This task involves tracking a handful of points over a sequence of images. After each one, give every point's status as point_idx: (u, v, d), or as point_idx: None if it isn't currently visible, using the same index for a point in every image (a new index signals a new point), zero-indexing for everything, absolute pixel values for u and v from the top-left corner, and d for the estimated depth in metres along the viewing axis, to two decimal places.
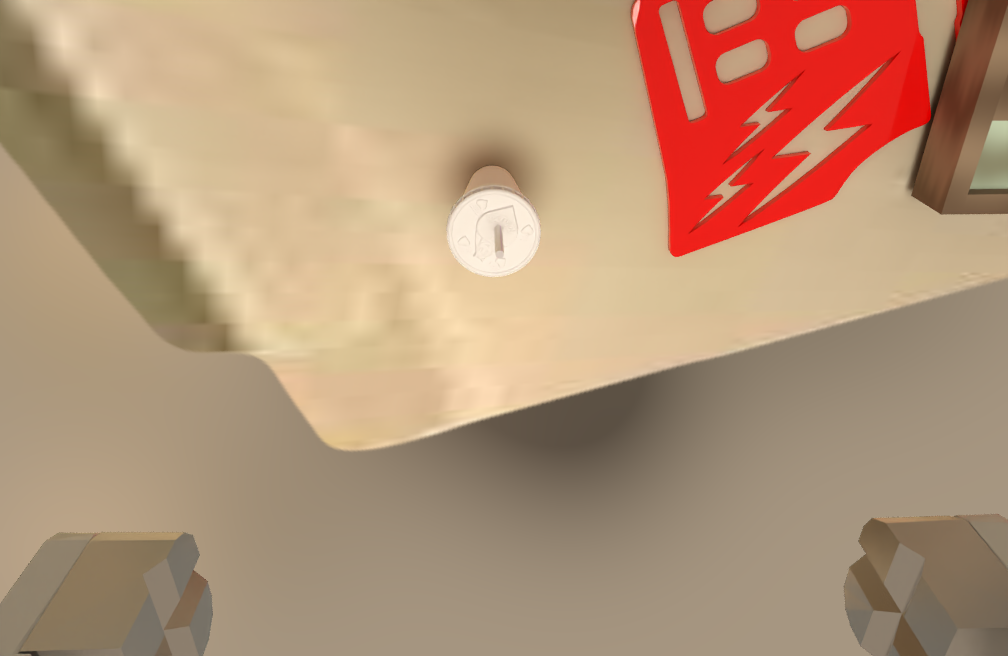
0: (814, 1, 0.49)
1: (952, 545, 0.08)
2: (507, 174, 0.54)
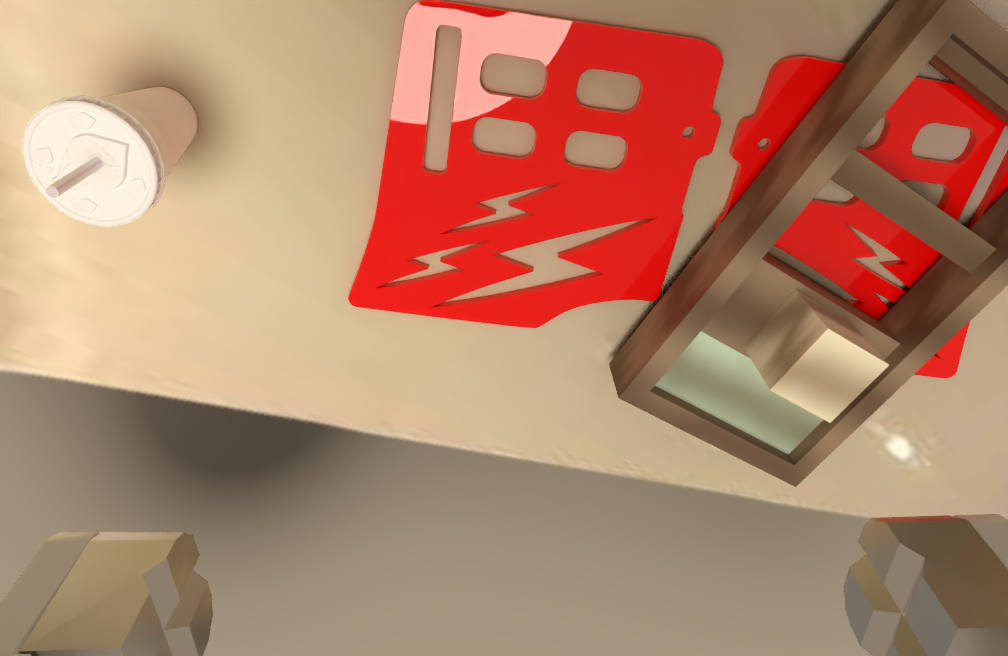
0: (599, 118, 0.43)
1: (952, 545, 0.08)
2: (182, 110, 0.41)
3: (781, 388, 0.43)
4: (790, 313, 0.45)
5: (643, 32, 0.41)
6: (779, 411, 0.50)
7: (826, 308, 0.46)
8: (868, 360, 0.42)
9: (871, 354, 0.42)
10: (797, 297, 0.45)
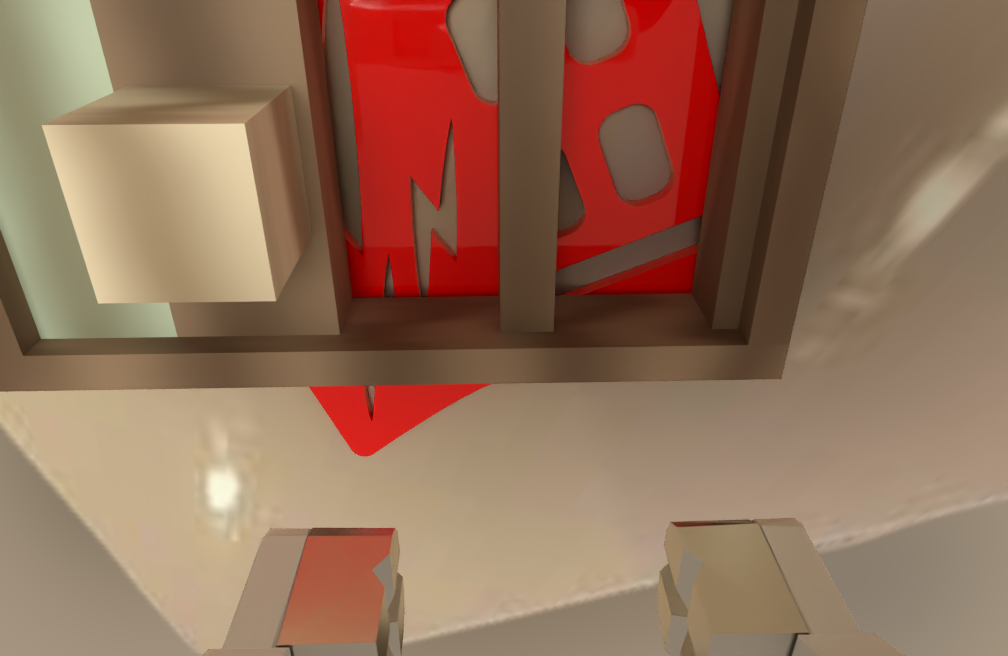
0: None
1: (735, 550, 0.08)
2: None
3: (66, 146, 0.18)
4: (239, 93, 0.21)
5: None
6: None
7: (301, 168, 0.23)
8: (253, 257, 0.20)
9: (267, 254, 0.20)
10: (277, 89, 0.21)
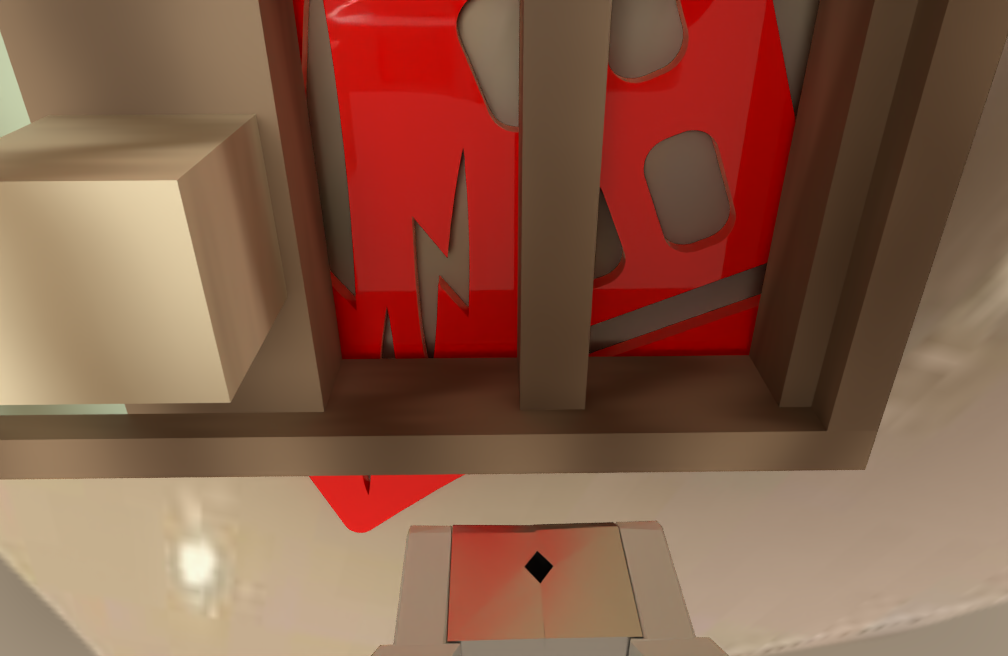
0: None
1: (587, 553, 0.08)
2: None
3: None
4: (186, 128, 0.16)
5: None
6: None
7: (271, 217, 0.19)
8: (197, 349, 0.15)
9: (217, 345, 0.15)
10: (236, 122, 0.17)
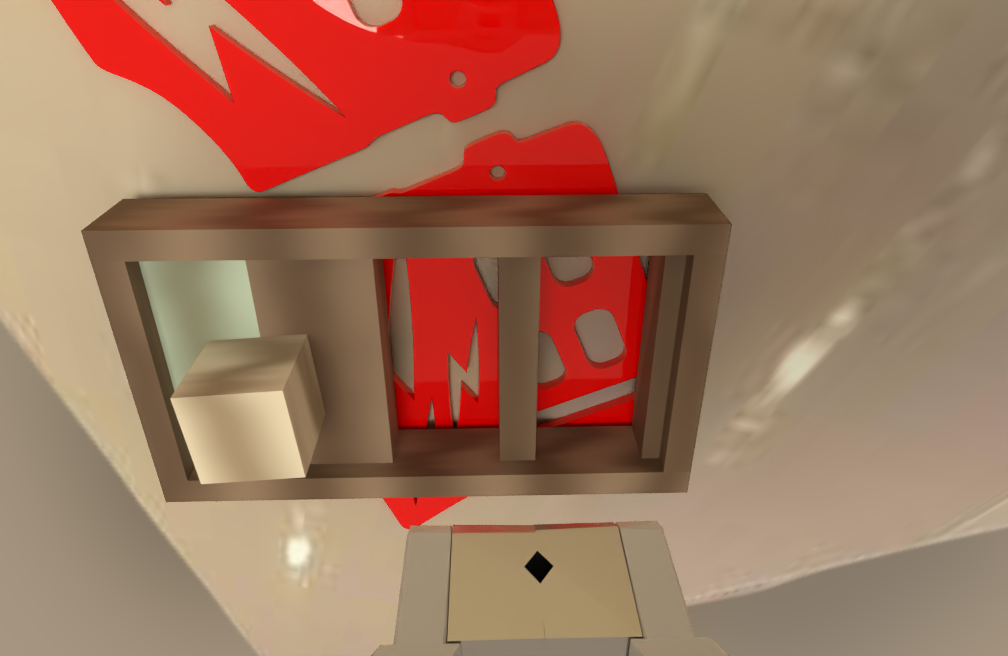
0: None
1: (587, 553, 0.08)
2: None
3: (183, 407, 0.32)
4: (276, 349, 0.35)
5: None
6: None
7: (316, 379, 0.37)
8: (291, 455, 0.33)
9: (299, 452, 0.33)
10: (299, 342, 0.35)
